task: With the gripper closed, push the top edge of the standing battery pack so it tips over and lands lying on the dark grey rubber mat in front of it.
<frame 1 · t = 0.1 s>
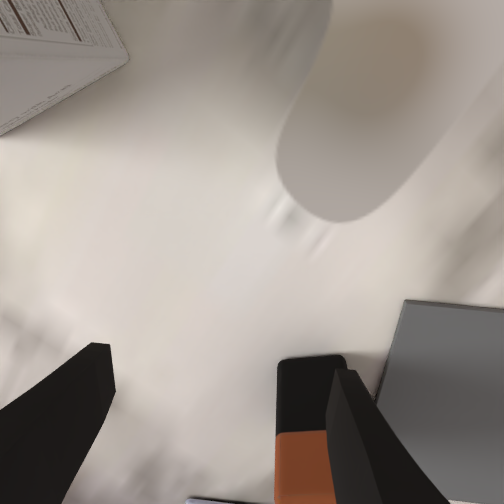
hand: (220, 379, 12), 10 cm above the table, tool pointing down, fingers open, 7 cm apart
battery: (315, 390, 26), on the table
supplement box: (3, 10, 17), on the table
mat: (471, 415, 25), on the table
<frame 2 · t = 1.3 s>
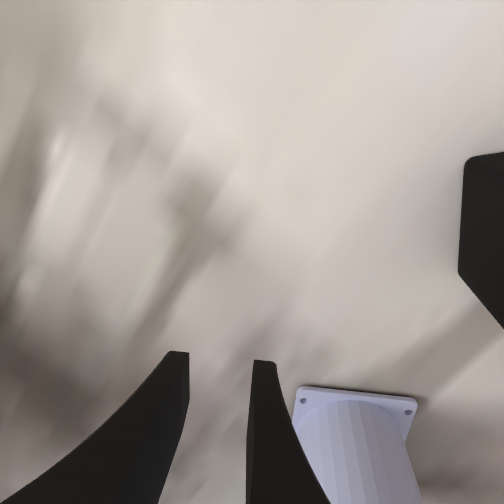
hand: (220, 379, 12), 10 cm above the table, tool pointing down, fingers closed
battery: (499, 213, 20), on the table
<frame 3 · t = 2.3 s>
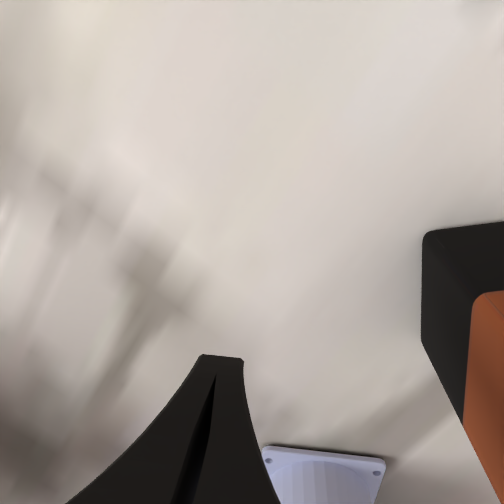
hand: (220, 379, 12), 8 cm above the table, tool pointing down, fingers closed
battery: (462, 283, 19), on the table
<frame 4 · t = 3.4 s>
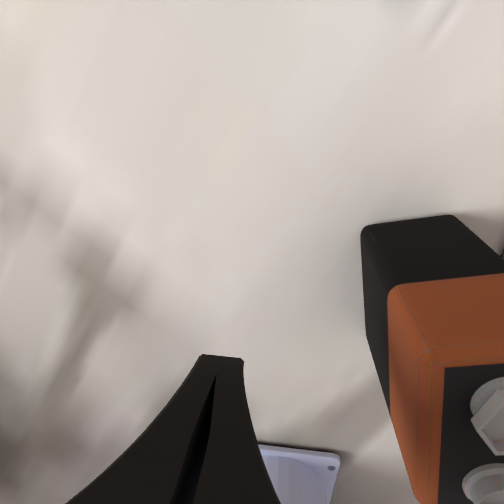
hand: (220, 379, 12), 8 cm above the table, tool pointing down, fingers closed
battery: (405, 277, 19), on the table
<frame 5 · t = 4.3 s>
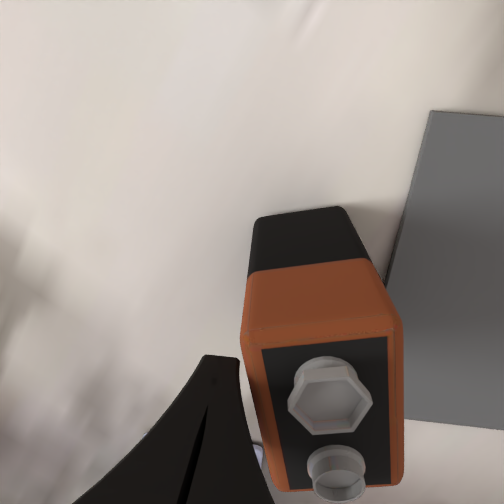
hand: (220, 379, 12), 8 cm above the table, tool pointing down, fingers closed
battery: (305, 269, 19), on the table, touching gripper
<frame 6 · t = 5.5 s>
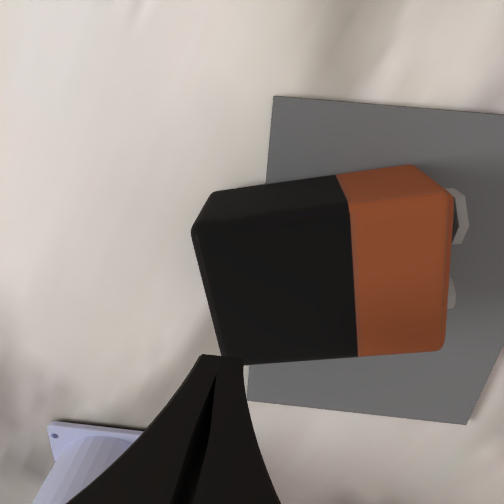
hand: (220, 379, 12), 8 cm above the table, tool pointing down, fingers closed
battery: (209, 278, 17), point 3 cm above the table, touching mat
mat: (385, 287, 19), on the table
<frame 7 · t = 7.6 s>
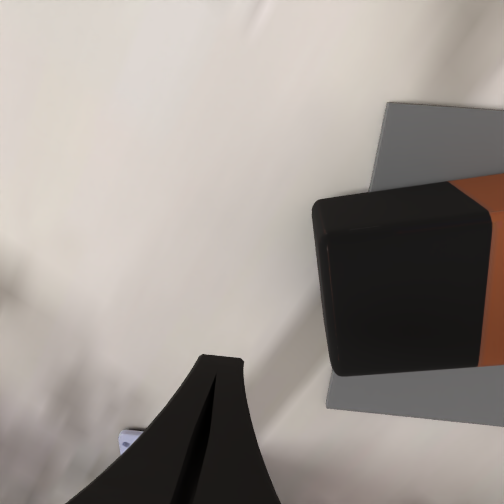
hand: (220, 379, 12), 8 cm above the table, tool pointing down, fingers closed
battery: (316, 288, 17), point 3 cm above the table, touching mat
mat: (481, 293, 19), on the table
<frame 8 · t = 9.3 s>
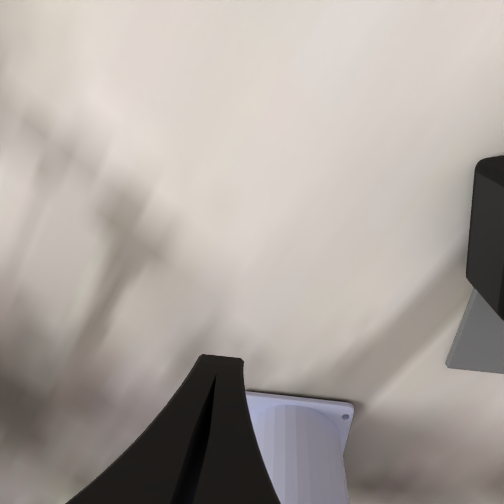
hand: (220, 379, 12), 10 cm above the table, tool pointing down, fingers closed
battery: (481, 241, 18), point 3 cm above the table, touching mat
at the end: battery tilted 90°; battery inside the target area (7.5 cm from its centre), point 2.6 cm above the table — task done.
